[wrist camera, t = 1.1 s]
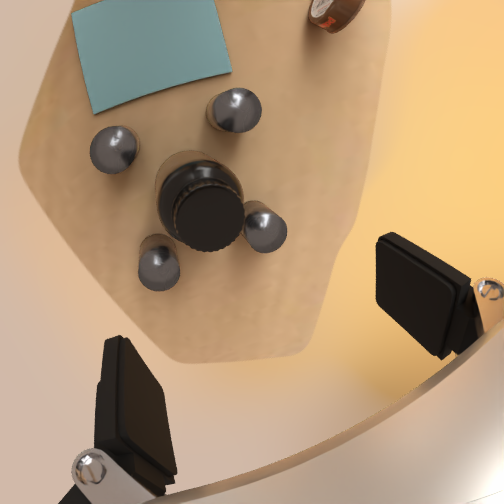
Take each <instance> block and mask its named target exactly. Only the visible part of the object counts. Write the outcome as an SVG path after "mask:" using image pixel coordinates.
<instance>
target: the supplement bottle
mask: <svg viewBox="0 0 504 504" xmlns="http://www.w3.org/2000/svg"><path fill="white" fill-rule="evenodd" d="M155 190H156V203H157V211H158V215H159V219H160V221H161V223H162V225H163V227H164V228H165V230H166V231H167V232H168V233H169V234H170V235H171V236H172V237H174V238H175V239H177V240H179V241H181V242H183V243H185V244H186V245H188V246H190V247H191V248H192V249H196V250H197V251H202V252H207V251H208V252H213V251H218V250H219V249H224V248H225V247H226V246H229V245H230V244H231V242H233V241H235V239H236V238H237V237H238V236H239V234H240V232H241V231H242V228H243V225H244V219H245V214H244V213H245V209H244V208H243V207H244V194H243V189H242V186H241V184H240V182H239V180H238V178H237V177H236V176H235V174H234V173H233V172H232V171H231V170H230V169H229V168H227V167H226V166H225V165H223V164H221V163H220V162H218V161H216V160H215V159H213V158H211V157H210V156H208V155H206V154H204V153H202V152H198V151H182V152H179V153H176V154H174V155H172V156H171V157H169V158H168V159H167V160H166V161H165V162H164V163H163V164H162V166H161V167H160V169H159V171H158V174H157V177H156V182H155Z"/></svg>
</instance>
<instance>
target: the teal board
mask: <svg viewBox="0 0 504 504" xmlns="http://www.w3.org/2000/svg"><path fill="white" fill-rule="evenodd" d="M71 15H72V21H73V27H74V32H75V38H76V43H77V48H78V53H79V58H80V62H81V67H82V71H83V75H84V79H85V84H86V88H87V92H88V95H89V99H90V103H91V107H92V110H93V114H97V113H99V112H102V111H104V110H107V109H109V108H112V107H114V106H117V105H119V104H122V103H125V102H127V101H130V100H133V99H136V98H139V97H142V96H145V95H148V94H151V93H154V92H157V91H160V90H163V89H167V88H170V87H173V86H177V85H180V84H184V83H188V82H191V81H195V80H199V79H203V78H207V77H212V76H216V75H220V74H225V73H230V72H232V68H231V64H230V60H229V56H228V52H227V48H226V44H225V40H224V37H223V33H222V29H221V25H220V21H219V18H218V14H217V10H216V7H215V3H214V0H104V1H101V2H98V3H96V4H93V5H91V6H88V7H85V8H83V9H81V10H78V11H76V12H74V13H71Z"/></svg>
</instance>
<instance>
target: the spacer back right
mask: <svg viewBox="0 0 504 504" xmlns="http://www.w3.org/2000/svg"><path fill="white" fill-rule="evenodd" d="M243 208H244V209H245V213H244V214H245V219H244V225H243V228H242V231H241V234H242V235H243V236H244V237H245V239H246V240H247V241H248V243H249V244H250V245H251V247H252V248H253V249H254V250H256V251H257V252H260V253H270V252H273V251H275V250H277V249H278V248H279V247H281V246H282V244H283V243H284V241H285V239H286V236H287V226H286V223H285V222H284V220H283V219H282V218H281V217H279V216H278V215H277V214H276V213H274V212H273V211H272V210H271V209H269V208H268V207H267V206H266V205H264V204H263V203H261V202H259V201H249V202H246V203H244V207H243Z"/></svg>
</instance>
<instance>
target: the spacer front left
mask: <svg viewBox="0 0 504 504" xmlns="http://www.w3.org/2000/svg"><path fill="white" fill-rule="evenodd" d="M138 151H139V138H138V136H137V134H136V133H135V131H134V130H132V129H131V128H129V127H127V126H112V127H108V128H105V129H103V130H101V131H100V132H99V133H98V134H97V135H96V136H95V137H94V139H93V141H92V143H91V146H90V157H91V160H92V163H93V164H94V166H95V167H96V168H97V169H98V170H100V171H101V172H103V173H107V174H116V173H120V172H122V171H124V170H125V169H127V168H128V167H129V166H130V164H131V163H132V162H133V160H134V158H135V157H136V155H137V153H138Z"/></svg>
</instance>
